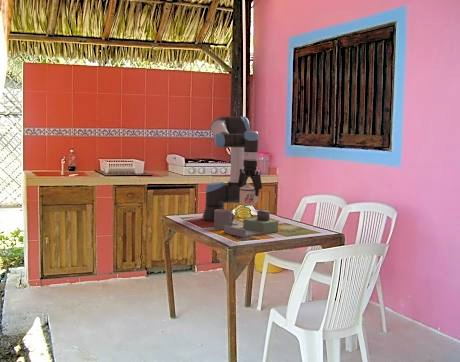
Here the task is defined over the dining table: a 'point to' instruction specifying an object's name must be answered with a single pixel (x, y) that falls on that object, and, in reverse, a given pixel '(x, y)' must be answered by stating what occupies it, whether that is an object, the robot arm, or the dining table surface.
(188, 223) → the dining table surface
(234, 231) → the grey green blocky piece
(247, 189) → the teacup with lid
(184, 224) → the dining table surface
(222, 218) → the coffee mug
